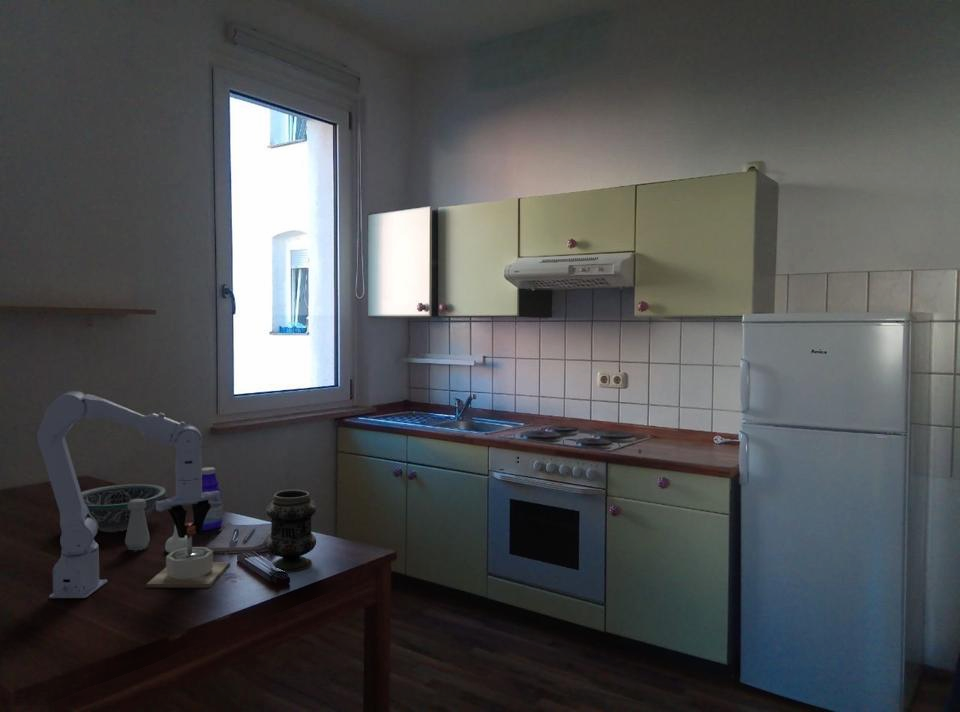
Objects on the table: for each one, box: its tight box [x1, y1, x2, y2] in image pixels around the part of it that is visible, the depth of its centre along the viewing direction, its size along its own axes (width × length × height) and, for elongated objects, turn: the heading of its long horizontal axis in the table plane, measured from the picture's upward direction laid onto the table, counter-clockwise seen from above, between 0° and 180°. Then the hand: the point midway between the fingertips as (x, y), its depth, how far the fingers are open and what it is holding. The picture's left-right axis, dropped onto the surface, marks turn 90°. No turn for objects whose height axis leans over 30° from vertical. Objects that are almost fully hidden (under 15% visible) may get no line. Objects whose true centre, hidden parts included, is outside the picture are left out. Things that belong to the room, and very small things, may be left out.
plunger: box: [175, 521, 204, 559], centre depth 163 cm, size 6×6×8 cm
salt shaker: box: [124, 499, 151, 552], centre depth 181 cm, size 6×6×13 cm
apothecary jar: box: [265, 489, 317, 573], centre depth 170 cm, size 12×12×18 cm
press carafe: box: [165, 546, 214, 580], centre depth 163 cm, size 9×9×4 cm
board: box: [146, 561, 231, 588], centre depth 163 cm, size 14×14×1 cm
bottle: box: [201, 466, 223, 532], centre depth 199 cm, size 7×6×17 cm
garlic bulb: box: [164, 525, 187, 554], centre depth 181 cm, size 6×6×8 cm
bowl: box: [81, 483, 167, 533], centre depth 200 cm, size 25×25×10 cm
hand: (189, 535), depth 163 cm, fingers closed on plunger, 3 cm apart
